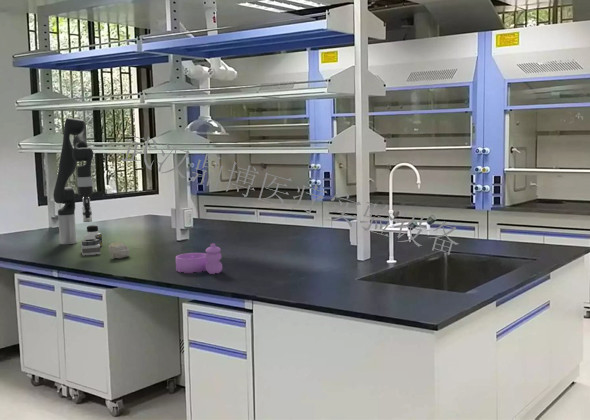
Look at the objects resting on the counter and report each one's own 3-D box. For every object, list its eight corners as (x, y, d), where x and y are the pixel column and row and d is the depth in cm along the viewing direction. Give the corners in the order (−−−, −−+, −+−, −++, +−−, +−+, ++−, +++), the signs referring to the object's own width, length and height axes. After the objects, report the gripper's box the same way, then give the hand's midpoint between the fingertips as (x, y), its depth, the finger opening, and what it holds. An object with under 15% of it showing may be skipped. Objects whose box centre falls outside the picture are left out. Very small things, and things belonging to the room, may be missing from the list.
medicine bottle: (96, 247, 364) (94, 226, 363) (84, 247, 366) (83, 226, 364) (102, 245, 371) (101, 224, 370) (91, 245, 372) (89, 224, 371)
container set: (169, 270, 296) (167, 242, 294) (193, 264, 308) (192, 237, 306) (207, 277, 281) (206, 247, 279) (232, 270, 293) (230, 241, 291)
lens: (83, 221, 346) (81, 206, 345) (92, 220, 347) (90, 205, 346) (83, 222, 342) (82, 207, 341) (92, 221, 343) (91, 206, 342)
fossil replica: (133, 255, 337) (114, 257, 337) (131, 240, 336) (112, 242, 337) (126, 258, 325) (107, 260, 325) (124, 242, 324) (105, 244, 325)
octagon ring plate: (81, 252, 351) (80, 239, 350) (98, 250, 354) (97, 237, 353) (82, 255, 340) (81, 242, 339) (100, 254, 343) (99, 241, 342)
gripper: (93, 185, 337) (95, 218, 339) (91, 184, 350) (93, 215, 352) (78, 186, 334) (80, 219, 336) (77, 185, 348) (79, 216, 350)
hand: (87, 217), depth 344 cm, fingers closed on lens, 4 cm apart
